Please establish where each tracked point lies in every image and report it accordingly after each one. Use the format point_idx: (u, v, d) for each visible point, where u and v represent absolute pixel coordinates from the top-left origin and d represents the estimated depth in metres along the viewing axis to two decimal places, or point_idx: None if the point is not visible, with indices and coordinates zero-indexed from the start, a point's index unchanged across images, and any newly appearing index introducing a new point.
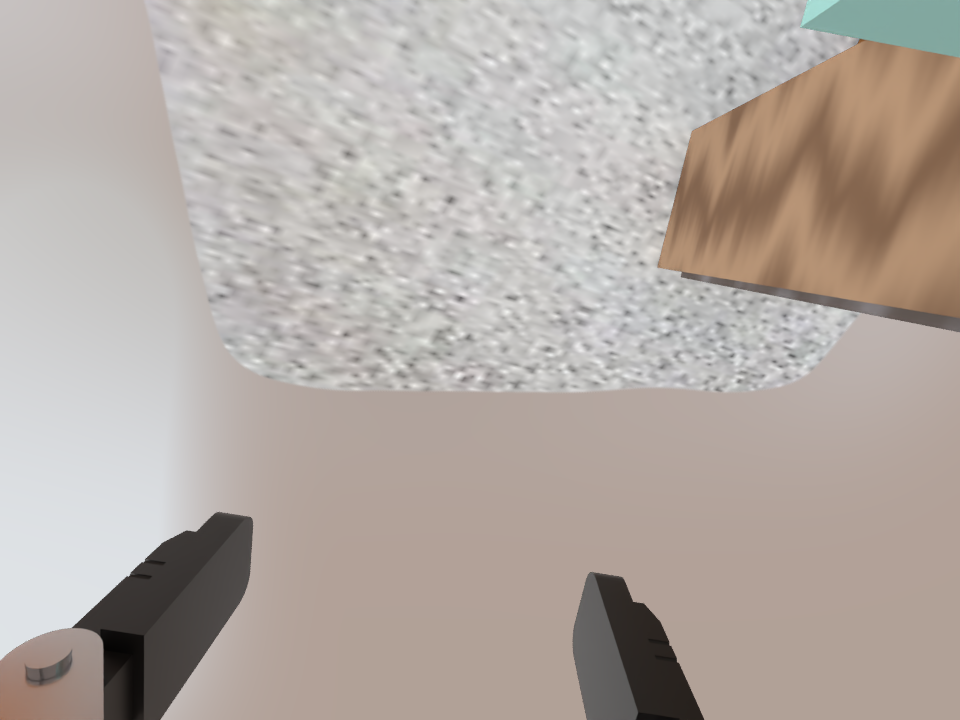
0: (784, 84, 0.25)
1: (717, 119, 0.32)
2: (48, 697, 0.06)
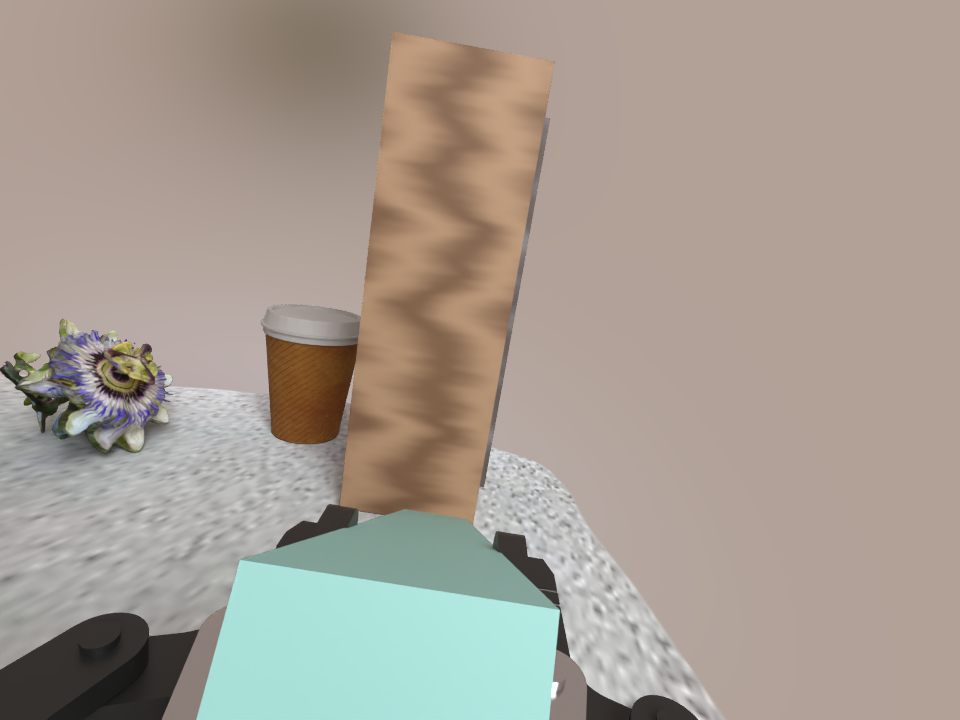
0: (357, 357, 0.34)
1: (346, 456, 0.36)
2: None
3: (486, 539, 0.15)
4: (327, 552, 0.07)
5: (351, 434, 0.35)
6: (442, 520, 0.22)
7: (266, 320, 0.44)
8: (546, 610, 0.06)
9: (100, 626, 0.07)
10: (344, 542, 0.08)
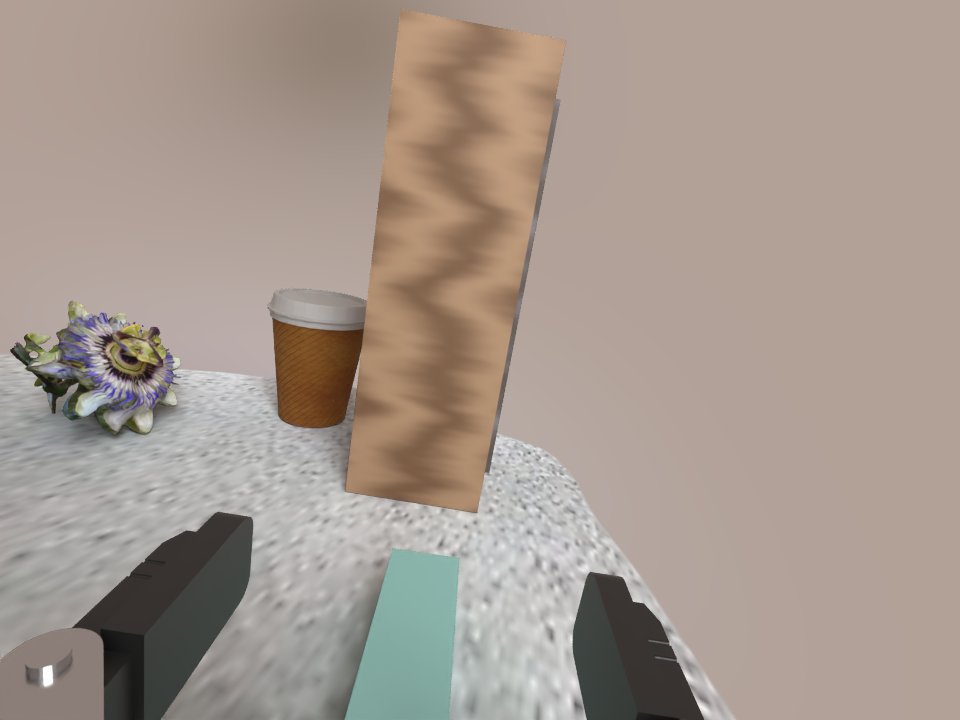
0: (363, 341, 0.34)
1: (352, 440, 0.36)
2: (47, 697, 0.06)
3: None
4: None
5: (357, 419, 0.35)
6: (418, 658, 0.20)
7: (273, 304, 0.44)
8: None
9: None
10: None
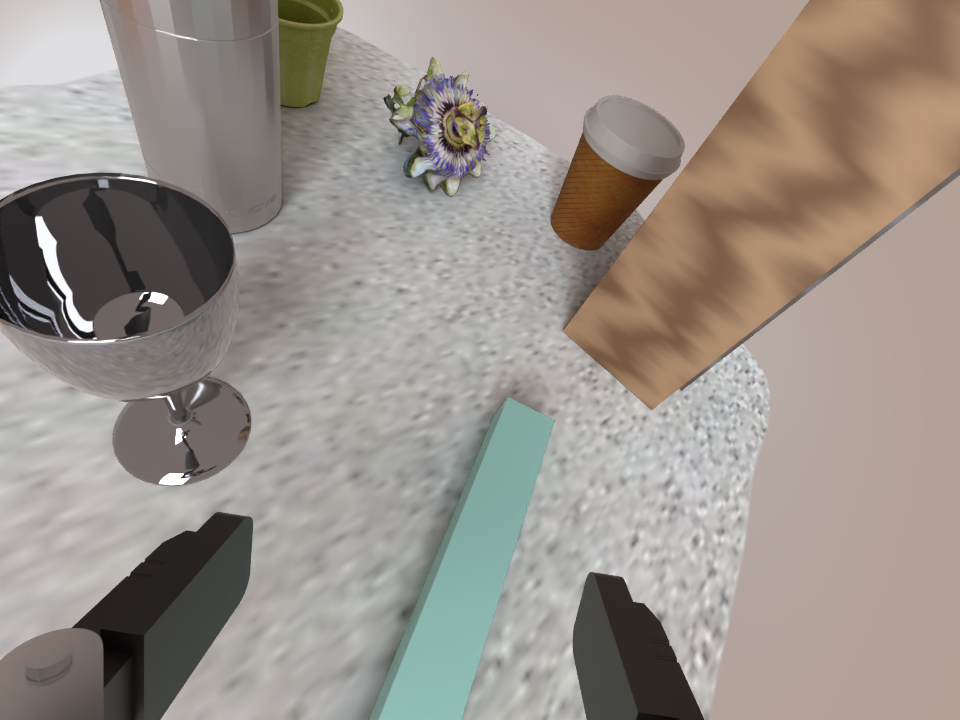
0: (636, 234, 0.34)
1: (586, 302, 0.40)
2: (46, 698, 0.06)
3: None
4: None
5: (598, 289, 0.38)
6: (506, 497, 0.29)
7: (589, 118, 0.42)
8: None
9: None
10: None
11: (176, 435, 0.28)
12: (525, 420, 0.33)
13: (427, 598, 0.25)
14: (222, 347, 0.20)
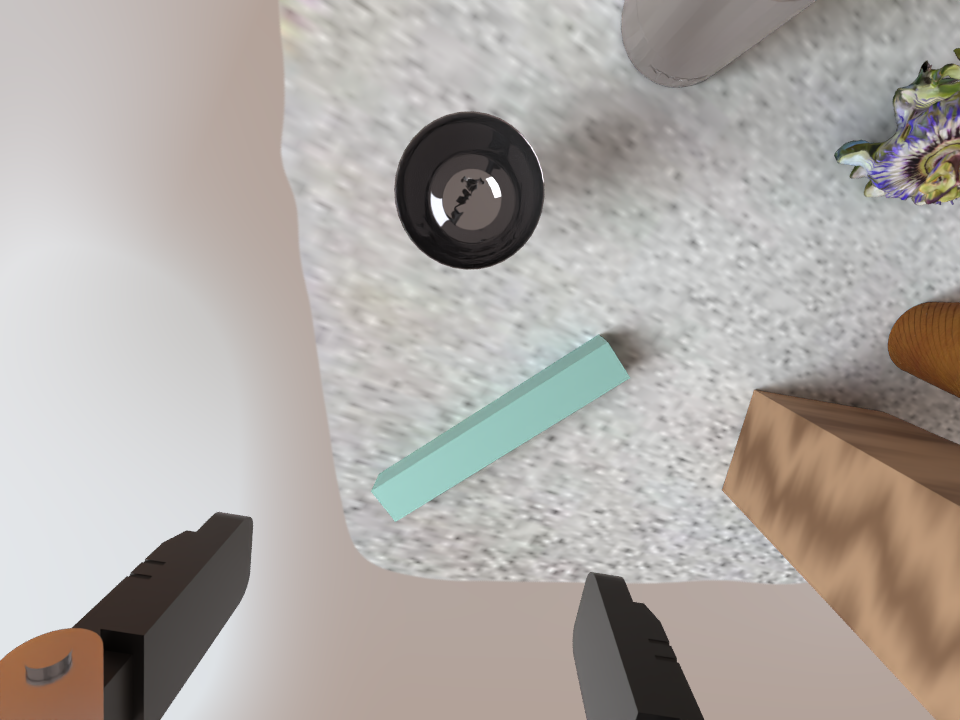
0: (846, 444, 0.32)
1: (781, 406, 0.40)
2: (47, 698, 0.06)
3: (484, 466, 0.42)
4: (390, 487, 0.43)
5: (793, 416, 0.38)
6: (552, 407, 0.41)
7: None
8: (394, 520, 0.44)
9: None
10: (403, 478, 0.43)
11: None
12: (606, 366, 0.40)
13: (468, 429, 0.42)
14: None
